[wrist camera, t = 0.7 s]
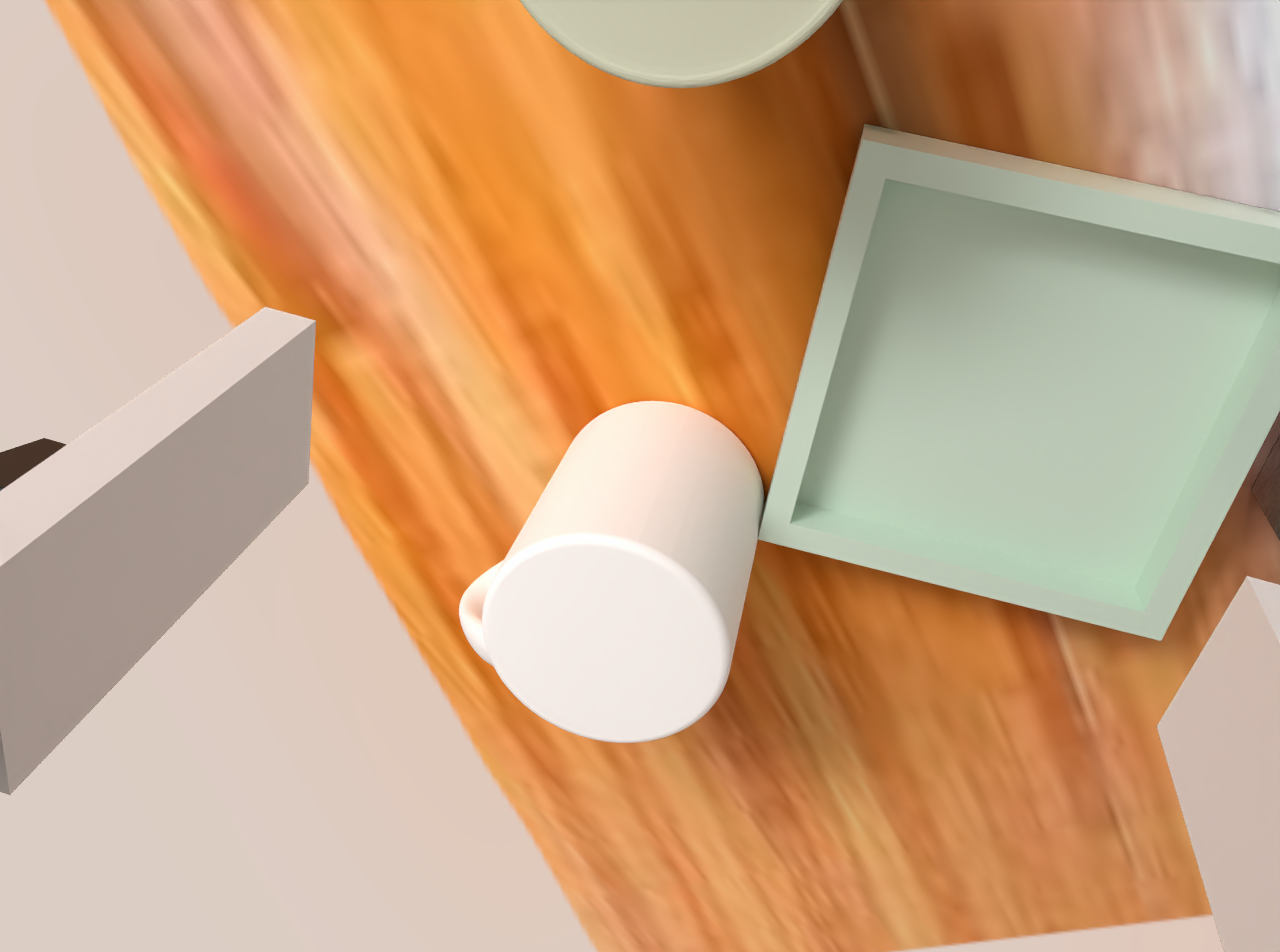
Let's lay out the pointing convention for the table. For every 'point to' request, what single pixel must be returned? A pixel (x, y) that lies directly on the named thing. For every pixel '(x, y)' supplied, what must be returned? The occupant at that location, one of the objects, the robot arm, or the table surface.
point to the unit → (1270, 488)
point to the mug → (626, 577)
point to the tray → (1030, 381)
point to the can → (680, 35)
